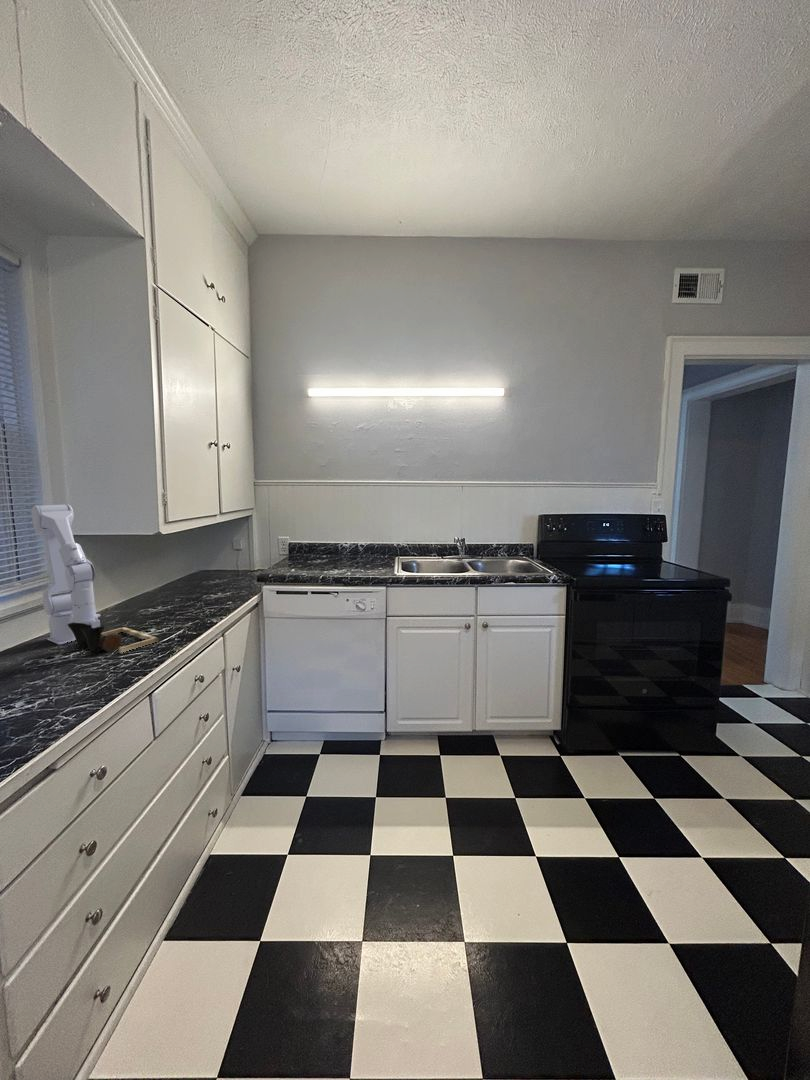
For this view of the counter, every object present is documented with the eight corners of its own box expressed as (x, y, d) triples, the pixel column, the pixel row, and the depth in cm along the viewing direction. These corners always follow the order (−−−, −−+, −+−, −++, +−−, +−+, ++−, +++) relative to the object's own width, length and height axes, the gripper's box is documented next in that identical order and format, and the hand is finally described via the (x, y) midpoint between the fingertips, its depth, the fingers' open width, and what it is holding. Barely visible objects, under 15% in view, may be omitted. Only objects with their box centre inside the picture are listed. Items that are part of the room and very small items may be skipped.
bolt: (90, 647, 152) (116, 654, 144) (74, 644, 148) (100, 650, 140) (97, 630, 154) (124, 635, 146) (82, 626, 150) (108, 631, 142)
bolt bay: (88, 640, 153) (87, 636, 153) (124, 631, 162) (124, 626, 162) (121, 653, 141) (120, 648, 141) (158, 642, 150) (157, 637, 150)
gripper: (109, 603, 141) (113, 647, 142) (87, 597, 149) (91, 638, 151) (82, 608, 135) (87, 654, 137) (61, 602, 143) (66, 645, 145)
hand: (88, 646), depth 143 cm, fingers open, 7 cm apart
